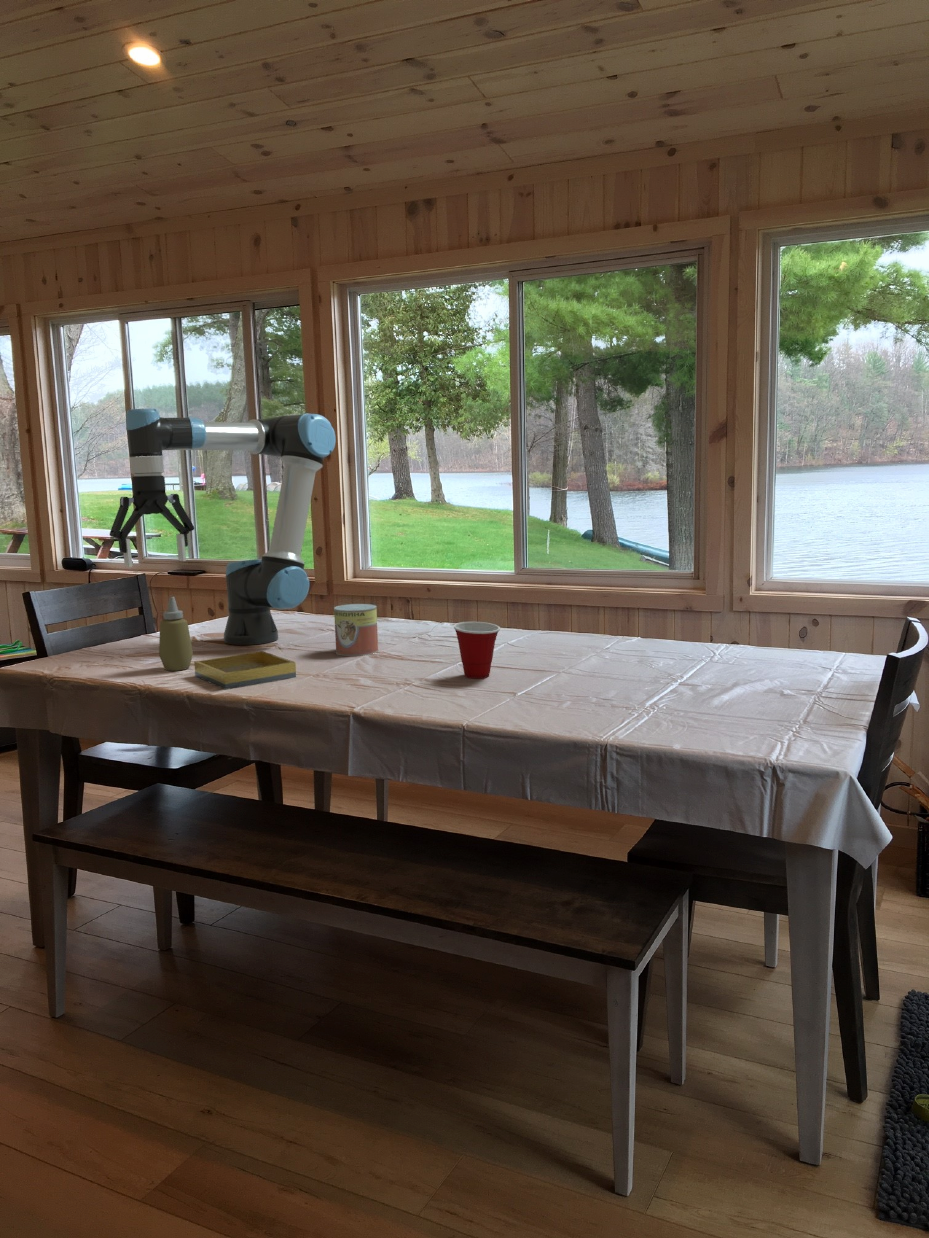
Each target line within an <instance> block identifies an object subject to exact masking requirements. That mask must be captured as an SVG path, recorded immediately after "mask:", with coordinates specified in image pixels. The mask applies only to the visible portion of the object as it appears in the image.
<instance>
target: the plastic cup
mask: <svg viewBox="0 0 929 1238" xmlns="http://www.w3.org/2000/svg"><path fill="white" fill-rule="evenodd" d="M453 629H454V632H455V635H456V639H457V642H458V648H459V653H460V659H461V663H462V668H463V674H464V676H465V677H466V678H468V679H484V678H488V677H490V674H491V670H492V669H491V668H492V662H493V656H494V650H495V642H496V640H497V636H498V633H499V631H500V630H501V626H499V625H497V624H495V623H490V622H484V621H483V622H482V621H462V622H461V621H460V622H457V623H455V624H453Z"/></svg>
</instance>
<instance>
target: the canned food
mask: <svg viewBox="0 0 929 1238" xmlns="http://www.w3.org/2000/svg"><path fill="white" fill-rule="evenodd" d="M377 607H378V606H377V605H375V604H371V603H350V604H349V603H348V604H341V605H337V606H333V612H334V631H335V632H334V633H335V634H334V635H335V636H334V637H335V654H336V655H339V656H342V657H343V656H344V657H346V656H347V657H360V656H362V657H363V655H364V656H369V655H373V653H374V654H376V652H377V653H378V652H379V639H378V637H379V636H378V634H379V633H378V616H377V615H378V613H377V612H378V611H377V610H378V609H377Z"/></svg>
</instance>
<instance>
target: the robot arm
mask: <svg viewBox="0 0 929 1238" xmlns="http://www.w3.org/2000/svg"><path fill="white" fill-rule="evenodd" d="M160 416H161V415H160V412H159V410H158V409H156V408H132V409H131V408H130V409H128V410H127V411H126V414H125V425H126V426H125V430H126V435H127V436H126V437H127V443H128V455H129V465H130V473H131V474H132V475H133V476H132V477H131V488H132V493H133V494H132V497H128V496H121V497H120V498H119V508H118V510H117V513H116V516H115V518H114V521H113V523H112V525H111V529H110V531H109V536H110V537H112V538H116V539H117V541H118V549H119V550H118V551H119V553H122V554H123V562H124V567H128V568H132V567H133V559H132V558H133V557H132V548H131V539H130V538H127V537H128V536H129V535H130V533H131V531H132V530H133V528H134V527H135V526H136V525H137V523H138V521H139V520H140V519H141V517H142V516H143V515H147V516H148V515H152V514H154V515H159V514H160V515H162V516H163V517H164V518H165V519H166V520H167V521H168V522H169V524H170V525H172V527H174V528H175V530H177V532H178V533H177V534H176V533H175V534H176V536H175V537H176V538H175V539H176V547H177V559H178V561H180V562H186V561H187V555H186V547H188V546H189V540H188V534H189V533H190V532H191V531H194V530H195V527H194V525H193V523H192V522H193V521H191V519H190V517H189V515H188V514H187V512H186V510H185V509H184V506H183V505H182V503H181V499H180V495H179V494H178V493H170V494H167V493H166V480H165V476H164V475H163V474H164V472H165V467H164V458H163V451H248V452H249V454H252V455H264V456H273V457H277V458H278V457H279V458H280V460H281V461H282V463H283V465H284V469H283V474H282V479H281V484H280V489H279V491H280V492H279V496H278V500H277V504H276V506H277V507H276V512H275V516H274V521H273V522H274V523H273V526H272V527H273V528H272V533H271V538H270V543H269V549H268V551H267V552H265V553H263V554H262V557H261V558H256V559H248V560H240V561H239V560H238V561H231V562H228V563H227V565H226V567H225V579H226V581H225V582H226V592H227V593H226V594H227V607H228V616H227V620H226V625H225V629H224V632H223V642H224V643H225V644H228V645H234V646H237V645H238V646H250V645H251V646H252V645H260V644H267V643H272V642H275V641H277V640H279V631H278V628H277V626H276V625H277V624H276V623H275V621H274V618H273V616H272V615H273V614H272V612H271V608H272V609H273V608H274V609H278V610H289V609H290V610H291V609H294V608H297V607H298V606H300V604H302V603H303V601H305V599H306V598H307V596H308V594H309V590H310V579H309V578H308V574H307V573H306V571H305V562H304V560H303V558H302V549H303V543H304V539H305V533H306V527H307V523H308V515H309V510H310V505H311V499H312V495H313V489H314V484H315V478H316V473H317V472H318V471H319V470H320V469H323V467H324V459H325V457H328V456H329V455H330V454H331V453H333V451H334V449H335V447H336V439H337V438H336V433H335V429H334V428H333V426H332V424H331V422H330V420H329V419H327V418H326V417H325V416H323V415H321V414H317V413H304V414H303V413H302V414H292V415H291V414H289V415H280V416H274V417H270V418H261V419H257V418H256V419H253V418H252V419H249V420H248V421H247V422H233V421H232V422H230V421H202V420H201V419H200V418H197V417H190V416H188V417H160ZM168 502H169V503H170V504H171V506H172V507H173V510H174V511H175V513H176V514H177V516H178V518H179V519H178V518H177V517H176V516H175V515H174V514H173V513H172V512H171V510H170V509H169V508H168V507H167V506H166V505H167V503H168ZM132 504H133V505H134V507H135V508H134V509H133V510H132V512H131V515H130V516H129V518H128V519H127V521H126V522H125V519H126V517H127V515H128V511H129V507H130V506H131V505H132ZM179 520H180V521H179ZM124 522H125V524H124Z"/></svg>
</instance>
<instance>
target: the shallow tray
mask: <svg viewBox="0 0 929 1238" xmlns="http://www.w3.org/2000/svg"><path fill="white" fill-rule="evenodd" d="M193 663H194V665H193V666H194V676H195V677H196V678H199V679H200V680H203V681H205V682H208V683H209V684H212V685H214V686H217V687H219V688H221V689H224V690H230V689H236V688H242V687H248V686H252V685H259V684H264V683H265V684H266V683H269V682H275V681H277V682H278V681H281V680H288V679H292V678H293V679H294V678H297V670H296V669H297V666H296V661H293V660H291V659H287V658H285V657H281V656H278V655H275V654H272V653H269V652H266V651H263V650H261V651H254V652H253V651H252V652H249V653H248V652H247V653H241V654H235V655H229V656H223V657H222V656H221V657H215V658H209V659H208V658H207V659H202V660H195V661H194V662H193Z"/></svg>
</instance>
